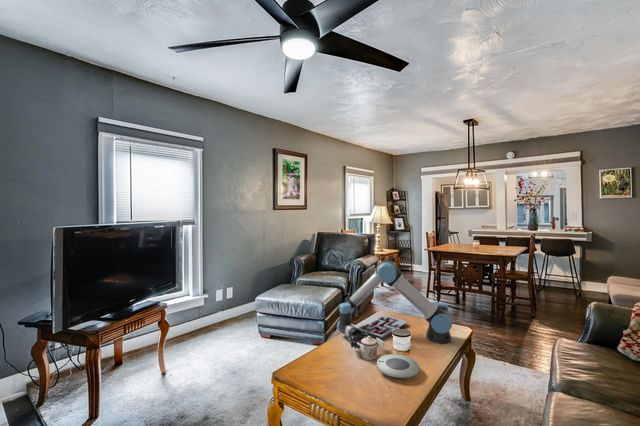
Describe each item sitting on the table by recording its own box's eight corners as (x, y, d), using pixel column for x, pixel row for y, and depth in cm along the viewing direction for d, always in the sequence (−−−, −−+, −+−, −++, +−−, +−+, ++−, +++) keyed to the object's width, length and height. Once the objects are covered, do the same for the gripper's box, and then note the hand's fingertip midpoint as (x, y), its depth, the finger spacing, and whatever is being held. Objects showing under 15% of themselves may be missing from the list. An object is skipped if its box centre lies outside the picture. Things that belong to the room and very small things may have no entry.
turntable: (419, 360, 166) (419, 357, 166) (418, 381, 146) (418, 377, 146) (379, 354, 173) (379, 351, 173) (374, 373, 153) (374, 370, 153)
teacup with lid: (370, 362, 170) (370, 341, 169) (357, 356, 176) (357, 336, 176) (383, 355, 177) (383, 335, 177) (371, 349, 184) (371, 330, 184)
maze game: (381, 341, 197) (381, 336, 197) (356, 332, 210) (356, 328, 210) (407, 325, 222) (407, 321, 222) (384, 319, 235) (384, 315, 235)
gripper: (370, 335, 199) (391, 348, 180) (336, 343, 188) (355, 358, 169) (369, 323, 199) (391, 335, 180) (336, 331, 187) (355, 344, 168)
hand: (373, 346), depth 174 cm, fingers open, 13 cm apart
